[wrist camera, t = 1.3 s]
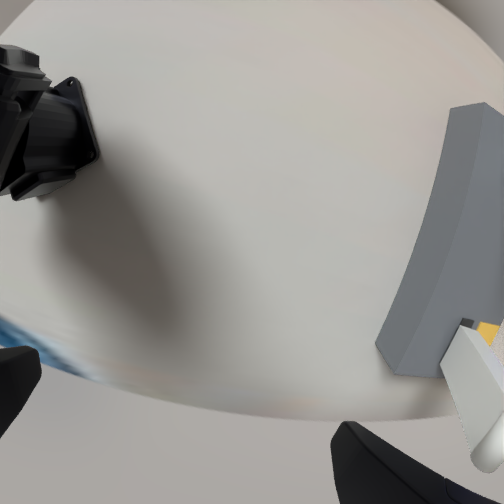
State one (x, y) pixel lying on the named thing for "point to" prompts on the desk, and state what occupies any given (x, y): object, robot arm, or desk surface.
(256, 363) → the desk surface
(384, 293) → the desk surface
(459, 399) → the switch
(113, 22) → the desk surface
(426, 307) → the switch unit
